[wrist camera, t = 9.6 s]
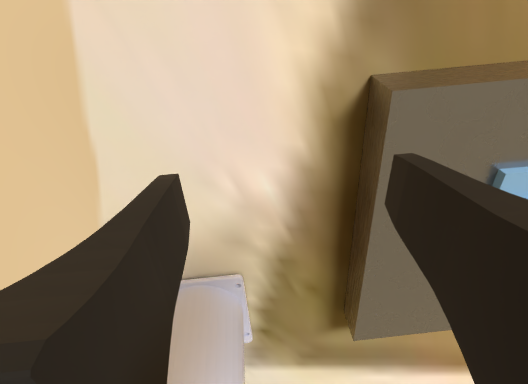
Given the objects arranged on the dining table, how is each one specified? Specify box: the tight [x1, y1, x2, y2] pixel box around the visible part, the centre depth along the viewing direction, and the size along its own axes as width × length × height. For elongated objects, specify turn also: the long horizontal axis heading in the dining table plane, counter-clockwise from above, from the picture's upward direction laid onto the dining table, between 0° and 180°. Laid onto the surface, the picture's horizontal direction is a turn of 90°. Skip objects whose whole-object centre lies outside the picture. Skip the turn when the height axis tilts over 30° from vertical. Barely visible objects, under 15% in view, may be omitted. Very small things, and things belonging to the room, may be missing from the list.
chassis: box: [344, 61, 528, 341], centre depth 24 cm, size 22×18×3 cm
